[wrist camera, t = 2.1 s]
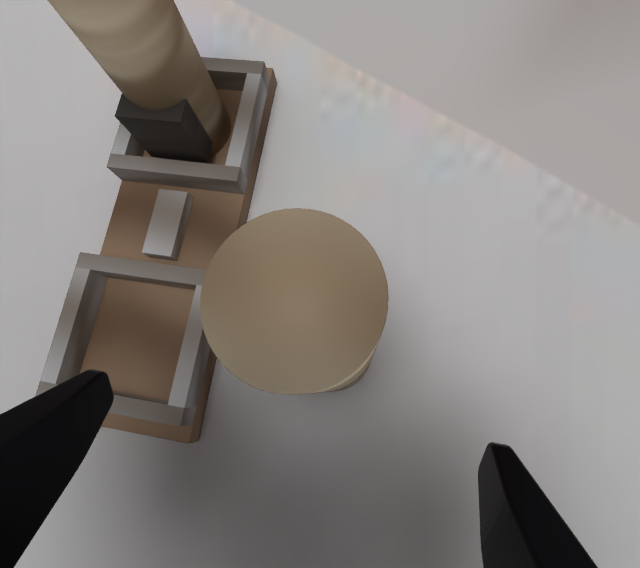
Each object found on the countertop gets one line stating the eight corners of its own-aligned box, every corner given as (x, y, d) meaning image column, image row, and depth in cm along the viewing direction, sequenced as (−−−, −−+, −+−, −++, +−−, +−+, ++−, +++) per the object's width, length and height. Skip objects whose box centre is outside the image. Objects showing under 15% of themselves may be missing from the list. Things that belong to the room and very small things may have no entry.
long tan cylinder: (220, 172, 23) (54, -85, 10) (153, 165, 24) (-83, -89, 11) (237, 102, 24) (104, -210, 11) (173, 97, 25) (-23, -208, 12)
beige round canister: (365, 397, 21) (374, 411, 8) (287, 383, 21) (180, 376, 9) (377, 308, 22) (402, 198, 9) (302, 297, 22) (227, 178, 10)
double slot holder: (198, 440, 21) (175, 447, 18) (68, 414, 22) (28, 418, 19) (276, 82, 26) (267, 47, 23) (167, 74, 26) (146, 39, 24)
